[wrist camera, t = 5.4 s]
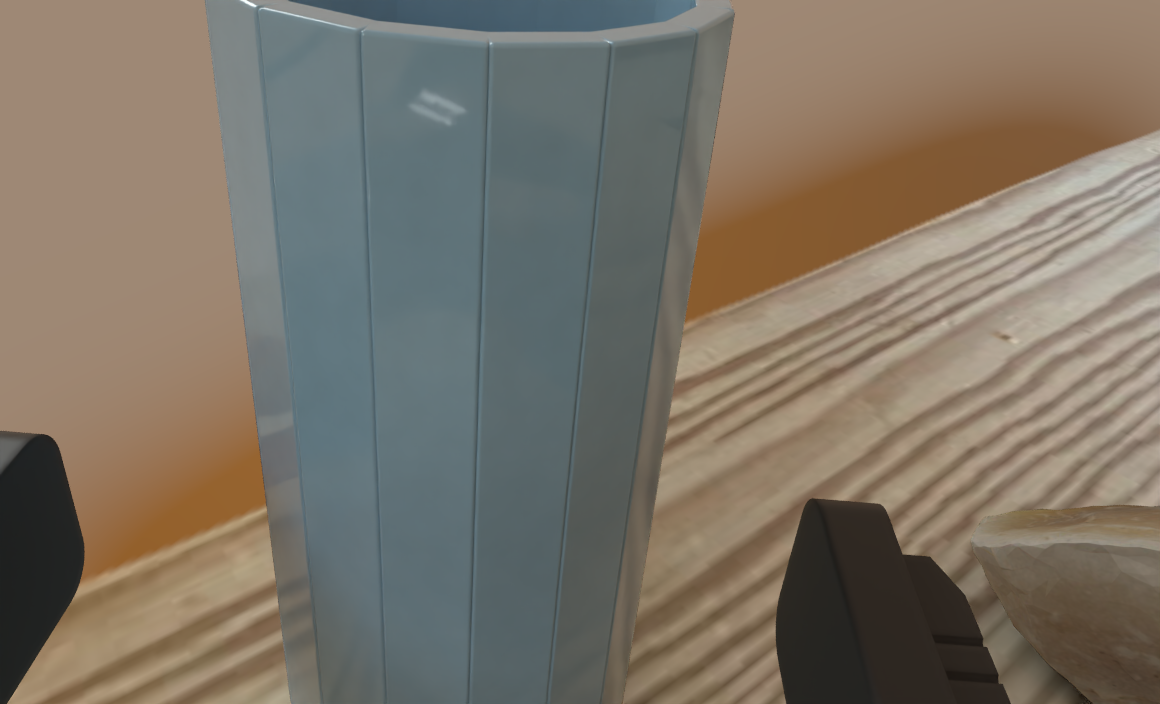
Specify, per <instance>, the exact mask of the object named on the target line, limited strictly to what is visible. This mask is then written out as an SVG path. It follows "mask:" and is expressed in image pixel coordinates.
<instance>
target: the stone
mask: <svg viewBox="0 0 1160 704" xmlns="http://www.w3.org/2000/svg"><path fill="white" fill-rule="evenodd" d="M971 545H972V548H973V551H974V554H975V556H976V557H977V559H978V560H979V562H980V563H981V565H982V567H983V569H984V572H985V575H986V577H987V579H988V581H989V583H990V585H991V587H992V588H993V590H994V591H995V593H996V594H997V596H998V598H999V600H1000V601H1001V603H1002V605H1003V607H1004V608H1005V610H1006V612H1007V614H1008V616H1009V618H1010V620H1011V622H1012V623H1013V625H1014V627H1015V628H1016V629H1017V630H1018V631H1019V632H1020V633H1021V634H1022V635H1023V636H1024V637H1025V638H1026V639H1027V641H1028V642H1029V643H1030V644H1031V645H1032V646H1033V647H1034V648H1035V650H1036V651H1037V652H1038V653H1039V654H1040V655H1041V657H1042V658H1043V659H1044V660H1045V661H1046V662H1047V663H1048V664H1049V665H1050V666H1051V667H1052V668H1053V669H1055V670H1056V671H1057V672H1058V673H1059V674H1061V675H1062V676H1063V677H1065V678H1066V679H1067V680H1068V681H1069V682H1070V683H1071V684H1073V685H1074V686H1075V687H1076V688H1077V689H1078V690H1079V691H1080V692H1081V693H1082V694H1083V695H1084V696H1085V697H1086V698H1087V699H1088V700H1089V701H1090V702H1092V703H1093V704H1160V506H1154V507H1149V506H1131V505H1114V506H1090V507H1084V508H1074V509H1064V510H1049V509H1037V510H1026V511H1014V512H1009V513H1005V514H1000V515H996V516H988V517H984V518H983V520H982V521H981V522H980V523H979V526H978V527H977V529H976V530H975V532H974V534H973V537H972V538H971Z"/></svg>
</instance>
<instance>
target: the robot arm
mask: <svg viewBox="0 0 1160 704" xmlns="http://www.w3.org/2000/svg"><path fill="white" fill-rule="evenodd" d="M83 565H84V542H83V537H82V533H81V529H80V526H79V521H78V518H77V514H76V510H75V506H74V502H73V499H72V495H71V491H70V487H69V484H68V480H67V476H66V472H65V468H64V465H63V461H62V457H61V453H60V450H59V447H58V445H57V444H56V442H55V441H54V440H53V438H51V437H50V436H48V435H44V434H32V433H20V432H9V431H8V432H7V431H0V704H7V703H8V701H9V700H10V698H11V696H12V695H13V693H14V692H15V690H16V688H17V687H18V685H19V684H20V682H21V681H22V679H23V677H24V676H25V674H26V673H27V671H28V669H29V668H30V666H31V665H32V663H33V661H34V660H35V658H36V657H37V655H38V653H39V652H40V650H41V649H42V647H43V646H44V644H45V642H46V641H47V639H48V638H49V636H50V634H51V633H52V631H53V630H54V628H55V626H56V625H57V623H58V622H59V620H60V619H61V617H62V615H63V614H64V612H65V611H66V609H67V607H68V606H69V604H70V603H71V601H72V599H73V597H74V595H75V593H76V591H77V588H78V586H79V583H80V579H81V575H82V571H83ZM776 647H777V656H778V662H779V667H780V672H781V678H782V683H783V688H784V694H785V699H786V704H1011V703H1010V701H1009V698H1008V696H1007V694H1006V691H1005V689H1004V687H1003V684H999V683H998V672H997V670H996V668H995V665H994V663H993V660H992V658H991V656H990V653H989V651H988V649H987V647H983V637H982V634H981V632H980V630H979V627H978V625H977V623H976V620H975V618H974V615H973V613H972V611H971V608H970V606H969V604H968V601H967V599H966V596H965V595H964V594H963V593H962V591H961V590H960V589H959V588H958V587H957V586H956V585H955V584H954V583H953V582H952V580H951V579H950V578H949V577H948V576H947V575H946V574H945V573H944V572H943V571H942V569H941V568H940V567H939V566H938V565H937V564H936V563H935V562H934V561H933V560H932V559H931V557H927V556H915V555H902V552H901V549H900V546H899V544H898V541H897V538H896V535H895V533H894V530H893V527H892V524H891V522H890V519H889V516H888V514H887V512H886V510H885V508H884V507H883V506H882V505H880V504H875V503H863V502H851V501H838V500H826V499H813V498H812V499H810V500H809V501H808V502H807V503H806V505H805V507H804V510H803V513H802V516H801V520H800V523H799V527H798V530H797V534H796V538H795V541H794V545H793V549H792V552H791V556H790V560H789V563H788V567H787V570H786V574H785V578H784V581H783V585H782V589H781V592H780V596H779V601H778V607H777V616H776Z"/></svg>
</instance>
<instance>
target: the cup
mask: <svg viewBox="0 0 1160 704" xmlns="http://www.w3.org/2000/svg"><path fill="white" fill-rule="evenodd" d="M205 6H206V15H207V23H208V31H209V38H210V47H211V56H212V64H213V71H214V80H215V88H216V97H217V104H218V112H219V121H220V129H221V138H222V146H223V154H224V162H225V170H226V178H227V187H228V194H229V203H230V211H231V219H232V227H233V235H234V244H235V252H236V260H237V267H238V277H239V284H240V292H241V300H242V309H243V317H244V325H245V334H246V341H247V350H248V358H249V367H250V375H251V383H252V390H253V399H254V407H255V415H256V423H257V432H258V440H259V448H260V456H261V464H262V472H263V481H264V489H265V498H266V506H267V514H268V522H269V530H270V538H271V547H272V555H273V563H274V571H275V579H276V587H277V596H278V604H279V612H280V620H281V628H282V637H283V645H284V653H285V661H286V669H287V677H288V686H289V694H290V702H291V704H622V703H623V697H624V691H625V684H626V678H627V672H628V666H629V660H630V654H631V648H632V642H633V635H634V629H635V623H636V617H637V611H638V605H639V599H640V592H641V586H642V580H643V574H644V568H645V562H646V556H647V549H648V543H649V537H650V531H651V525H652V519H653V513H654V507H655V500H656V494H657V488H658V482H659V476H660V470H661V464H662V457H663V451H664V445H665V439H666V433H667V427H668V421H669V414H670V408H671V402H672V396H673V390H674V384H675V378H676V372H677V365H678V359H679V353H680V347H681V341H682V335H683V329H684V322H685V316H686V310H687V304H688V297H689V292H690V286H691V279H692V273H693V267H694V261H695V255H696V249H697V242H698V237H699V230H700V224H701V218H702V212H703V206H704V199H705V194H706V187H707V181H708V175H709V169H710V163H711V157H712V151H713V144H714V138H715V131H716V126H717V119H718V114H719V108H720V102H721V95H722V89H723V83H724V77H725V71H726V65H727V58H728V52H729V46H730V40H731V34H732V28H733V21H734V15H735V13H734V9H733V6H732V3H731V0H205Z"/></svg>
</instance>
